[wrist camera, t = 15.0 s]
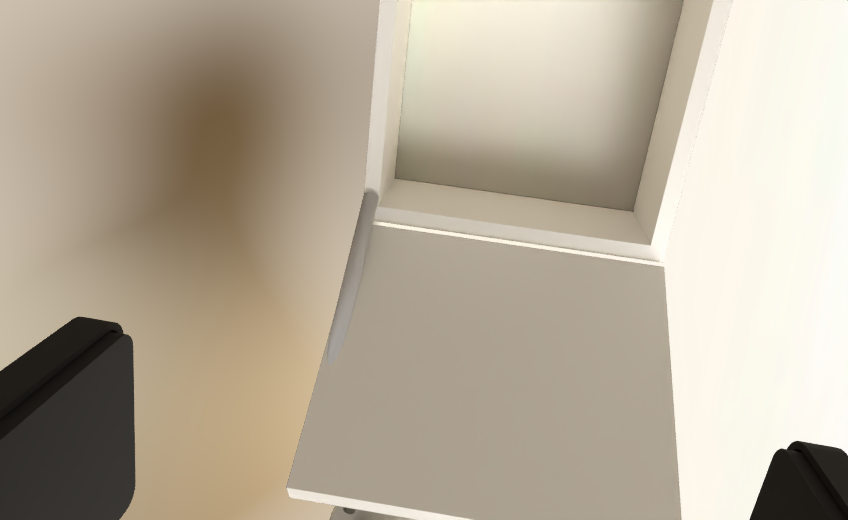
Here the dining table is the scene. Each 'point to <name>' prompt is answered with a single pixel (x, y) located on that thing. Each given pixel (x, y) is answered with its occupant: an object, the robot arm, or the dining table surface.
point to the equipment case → (505, 332)
